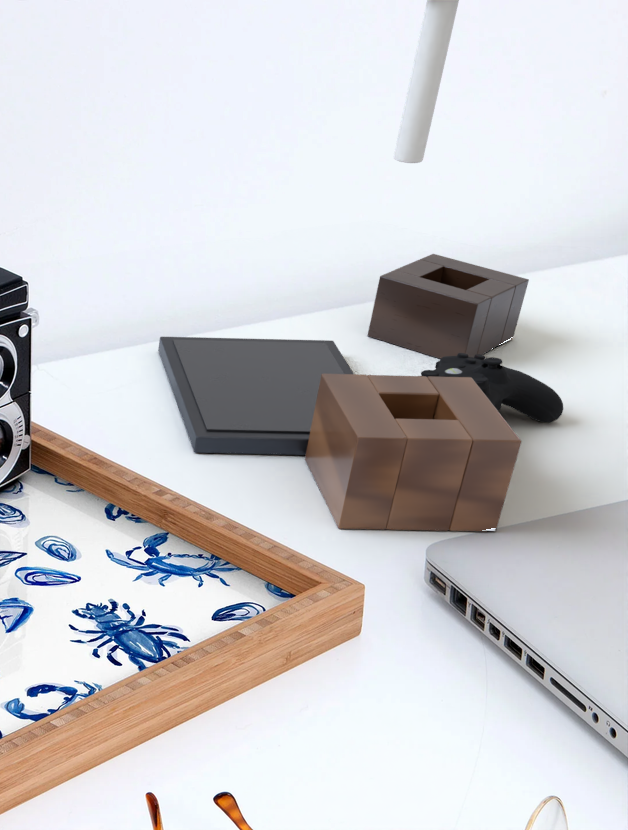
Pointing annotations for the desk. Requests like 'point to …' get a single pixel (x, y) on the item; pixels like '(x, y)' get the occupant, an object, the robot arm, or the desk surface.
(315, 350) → the tablet
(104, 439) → the desk surface
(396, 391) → the front stand
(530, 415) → the game controller
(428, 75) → the stylus
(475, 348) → the back stand
